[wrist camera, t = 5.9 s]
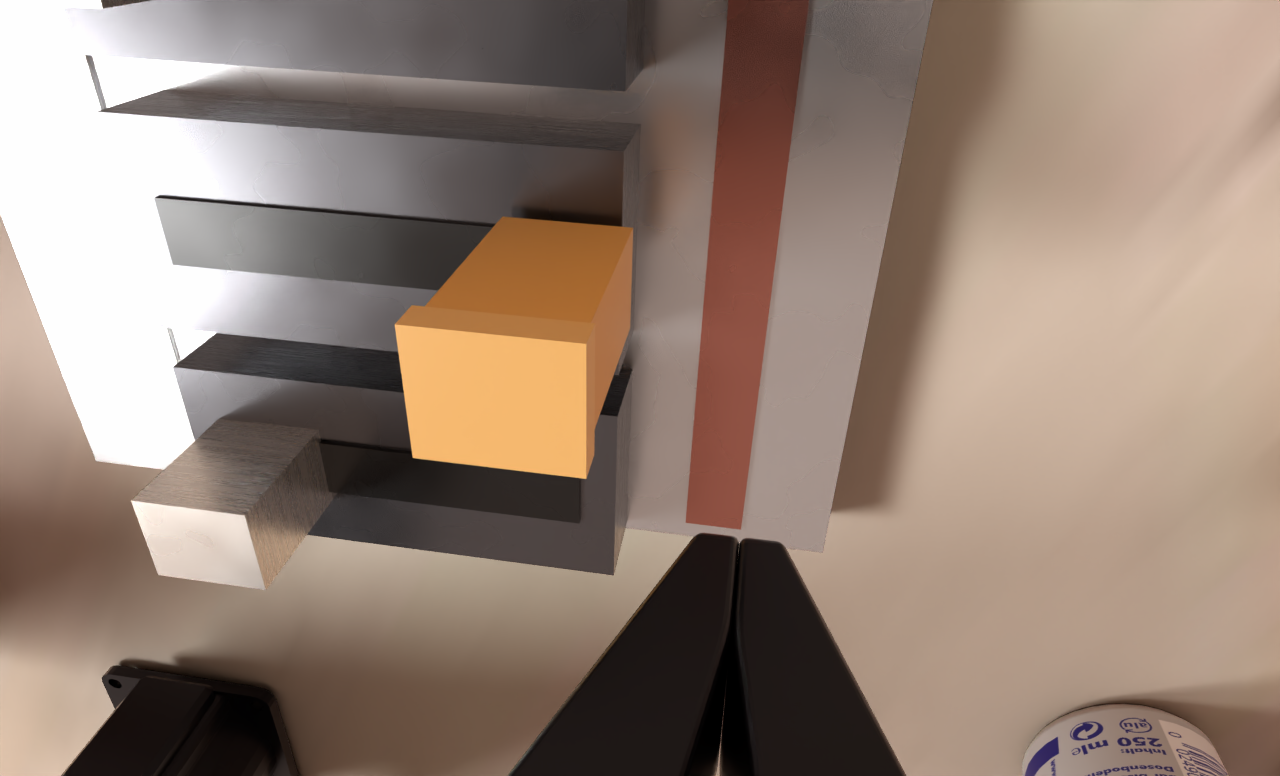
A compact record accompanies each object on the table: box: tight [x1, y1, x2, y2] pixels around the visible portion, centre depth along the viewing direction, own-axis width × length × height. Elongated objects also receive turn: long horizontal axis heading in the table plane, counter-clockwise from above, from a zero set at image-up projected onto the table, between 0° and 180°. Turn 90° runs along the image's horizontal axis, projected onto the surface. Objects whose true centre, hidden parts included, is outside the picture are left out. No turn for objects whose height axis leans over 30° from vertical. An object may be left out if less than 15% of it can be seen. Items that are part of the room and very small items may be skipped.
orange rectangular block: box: [395, 217, 633, 479], centre depth 13 cm, size 2×3×5 cm
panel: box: [0, 0, 933, 590], centre depth 16 cm, size 16×20×6 cm
